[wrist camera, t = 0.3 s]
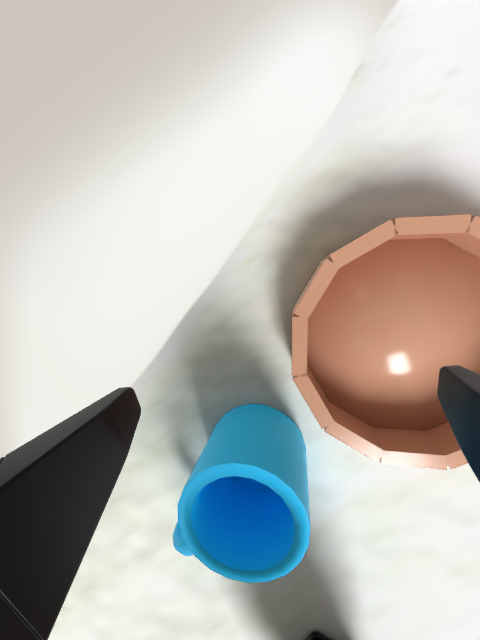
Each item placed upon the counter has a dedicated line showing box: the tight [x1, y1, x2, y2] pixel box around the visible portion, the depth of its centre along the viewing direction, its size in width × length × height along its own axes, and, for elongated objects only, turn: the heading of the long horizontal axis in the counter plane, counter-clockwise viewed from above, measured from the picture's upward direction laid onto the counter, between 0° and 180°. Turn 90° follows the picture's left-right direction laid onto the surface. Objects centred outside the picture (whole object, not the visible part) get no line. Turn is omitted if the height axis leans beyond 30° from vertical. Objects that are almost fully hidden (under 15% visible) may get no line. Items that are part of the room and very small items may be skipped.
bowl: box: [292, 214, 480, 470], centre depth 21 cm, size 16×16×4 cm
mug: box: [173, 404, 310, 583], centre depth 23 cm, size 12×8×8 cm
